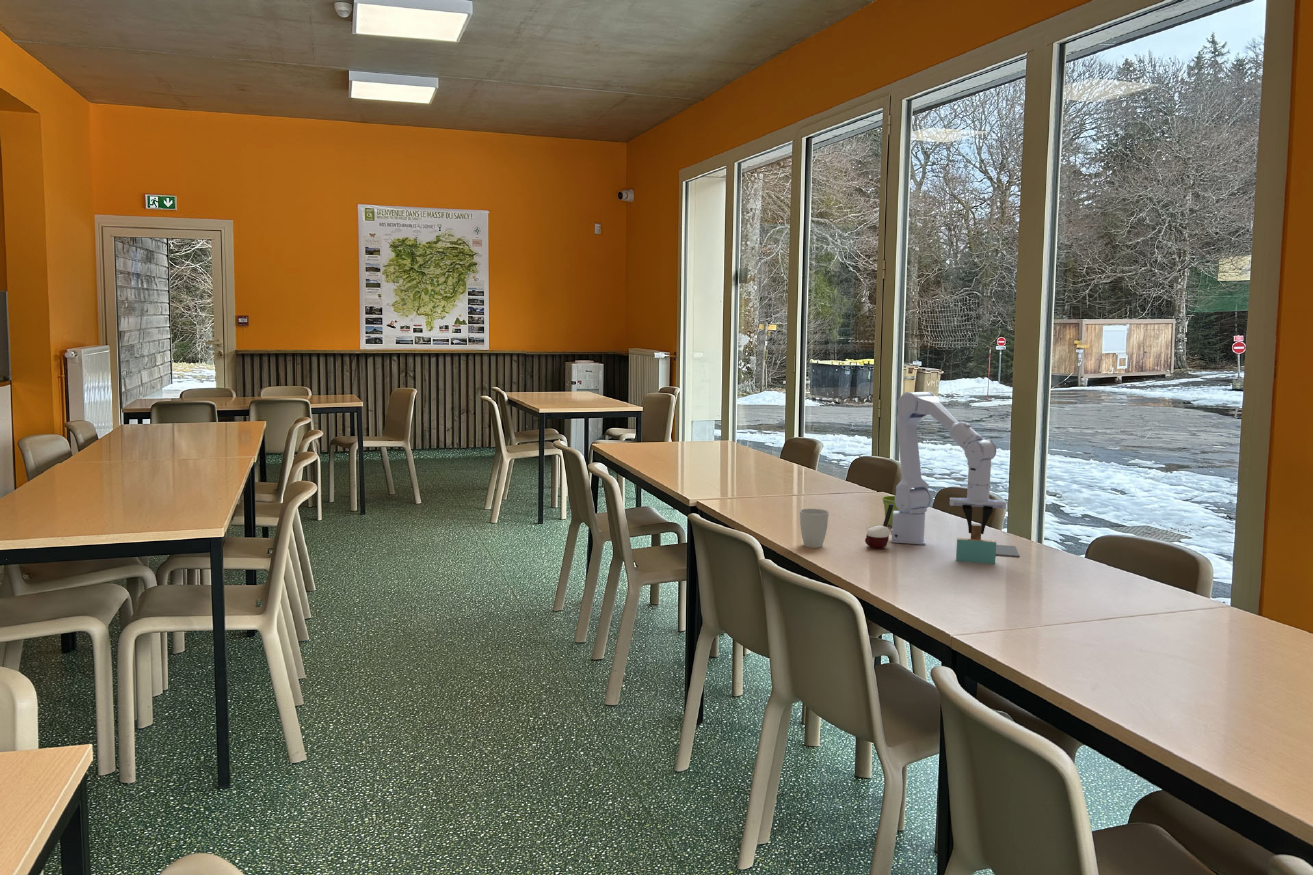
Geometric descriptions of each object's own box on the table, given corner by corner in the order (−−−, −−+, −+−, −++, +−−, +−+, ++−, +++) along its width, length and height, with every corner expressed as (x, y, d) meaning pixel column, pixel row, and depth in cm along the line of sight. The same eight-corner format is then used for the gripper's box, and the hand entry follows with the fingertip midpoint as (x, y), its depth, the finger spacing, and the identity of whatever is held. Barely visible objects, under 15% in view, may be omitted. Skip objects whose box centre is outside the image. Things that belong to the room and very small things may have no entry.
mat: (973, 553, 264) (973, 552, 264) (971, 544, 276) (971, 542, 276) (1019, 557, 261) (1019, 555, 261) (1015, 547, 273) (1015, 546, 273)
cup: (826, 542, 275) (827, 509, 274) (828, 549, 267) (829, 514, 266) (798, 541, 276) (799, 508, 275) (799, 548, 268) (800, 513, 267)
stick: (970, 547, 259) (971, 525, 258) (970, 545, 261) (971, 523, 260) (980, 547, 258) (981, 526, 257) (979, 545, 260) (981, 524, 260)
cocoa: (866, 551, 267) (867, 510, 265) (859, 545, 273) (859, 505, 271) (899, 549, 268) (899, 508, 266) (890, 543, 274) (891, 503, 272)
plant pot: (908, 522, 305) (909, 496, 304) (913, 528, 296) (914, 501, 295) (878, 521, 306) (879, 495, 305) (882, 527, 297) (883, 500, 296)
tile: (956, 561, 256) (957, 539, 256) (955, 559, 258) (956, 537, 257) (995, 564, 254) (996, 542, 253) (994, 562, 256) (995, 540, 255)
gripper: (951, 484, 256) (948, 533, 257) (1008, 487, 252) (1005, 537, 253) (950, 480, 262) (948, 528, 264) (1006, 483, 259) (1003, 532, 260)
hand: (975, 532), depth 259 cm, fingers closed on stick, 2 cm apart
